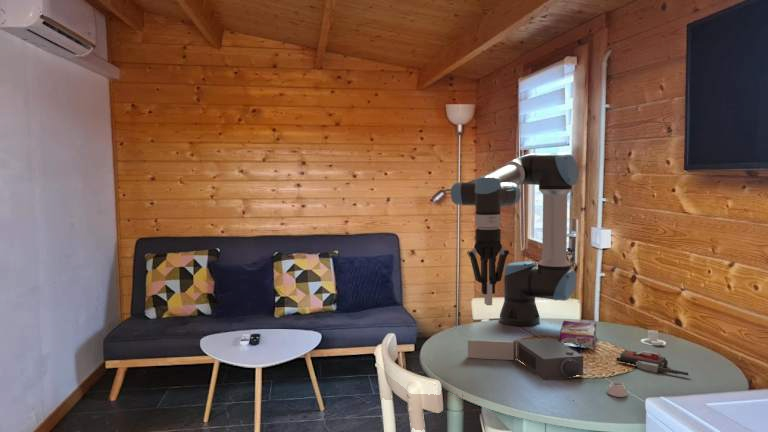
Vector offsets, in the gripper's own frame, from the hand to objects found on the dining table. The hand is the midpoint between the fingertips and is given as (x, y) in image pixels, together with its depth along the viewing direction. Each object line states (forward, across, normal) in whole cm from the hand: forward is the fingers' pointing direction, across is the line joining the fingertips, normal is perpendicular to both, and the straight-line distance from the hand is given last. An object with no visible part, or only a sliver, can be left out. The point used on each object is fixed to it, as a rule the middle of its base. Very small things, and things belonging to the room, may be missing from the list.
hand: (488, 304), depth 174 cm
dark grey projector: (+18, +14, -11) cm, 25 cm away
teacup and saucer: (+19, +58, +5) cm, 61 cm away
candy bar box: (+16, +41, +19) cm, 48 cm away
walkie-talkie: (+18, +45, -17) cm, 51 cm away
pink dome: (+18, +23, -33) cm, 44 cm away
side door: (+17, +1, +1) cm, 18 cm away
